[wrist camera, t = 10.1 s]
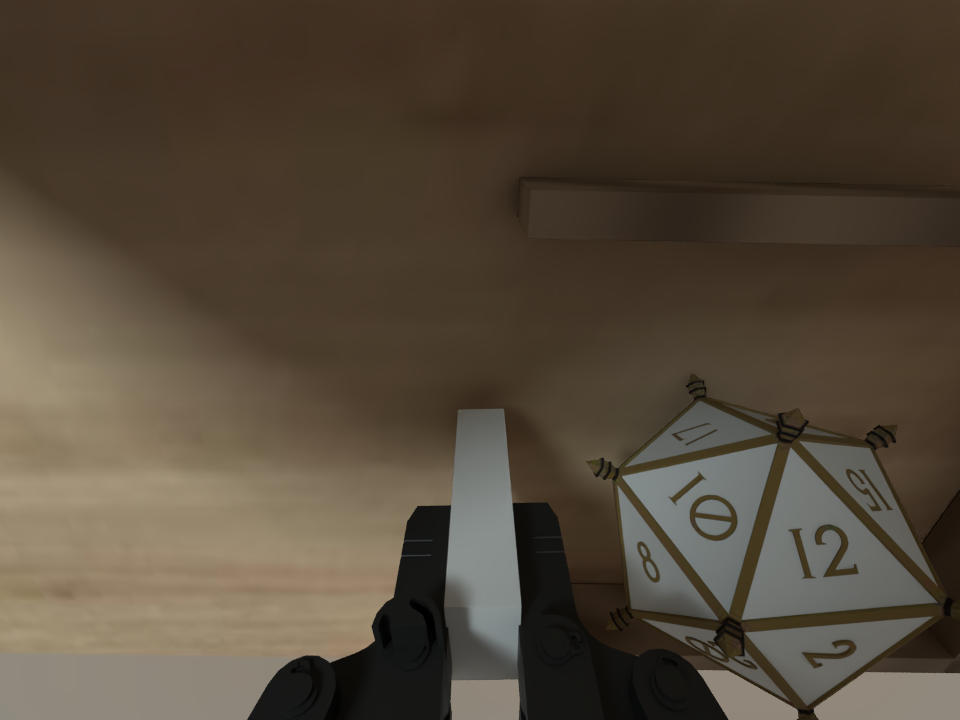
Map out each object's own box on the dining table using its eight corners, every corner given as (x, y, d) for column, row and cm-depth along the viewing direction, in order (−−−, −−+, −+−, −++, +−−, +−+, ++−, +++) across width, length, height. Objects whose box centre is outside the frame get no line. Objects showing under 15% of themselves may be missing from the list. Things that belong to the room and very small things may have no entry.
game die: (667, 422, 20) (744, 687, 16) (514, 406, 16) (561, 757, 12) (907, 332, 13) (1161, 757, 9) (746, 264, 9) (1071, 986, 5)
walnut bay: (495, 597, 20) (498, 667, 17) (519, 177, 12) (531, 190, 9) (906, 602, 20) (970, 673, 18) (1217, 191, 12) (1431, 207, 9)
